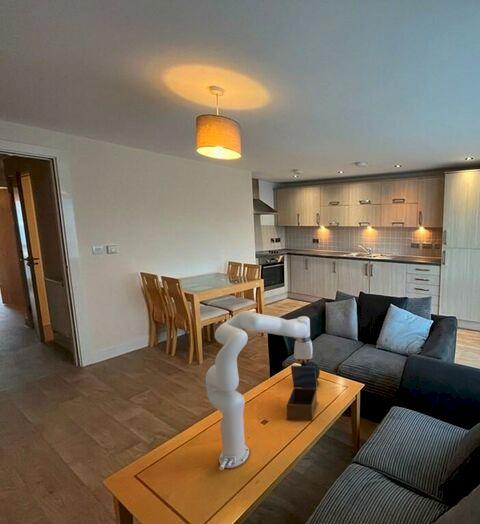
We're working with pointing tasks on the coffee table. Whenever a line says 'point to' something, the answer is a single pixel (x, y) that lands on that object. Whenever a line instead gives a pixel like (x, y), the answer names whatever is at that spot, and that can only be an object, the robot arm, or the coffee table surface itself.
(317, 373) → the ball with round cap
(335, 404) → the coffee table surface
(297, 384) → the blue-grey square panel
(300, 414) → the brown box
